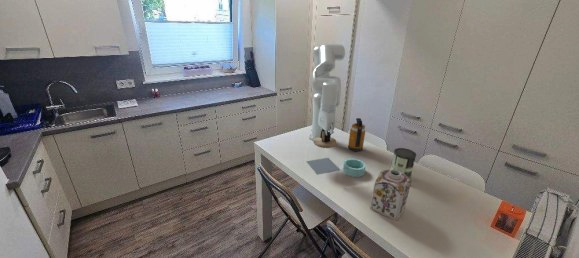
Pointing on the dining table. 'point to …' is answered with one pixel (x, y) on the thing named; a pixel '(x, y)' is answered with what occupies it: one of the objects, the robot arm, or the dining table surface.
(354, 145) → the canister
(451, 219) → the dining table surface
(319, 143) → the lid
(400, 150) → the coffee can
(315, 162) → the mat
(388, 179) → the decorative jar
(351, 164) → the bowl
